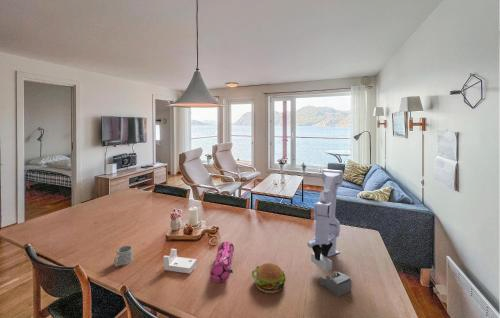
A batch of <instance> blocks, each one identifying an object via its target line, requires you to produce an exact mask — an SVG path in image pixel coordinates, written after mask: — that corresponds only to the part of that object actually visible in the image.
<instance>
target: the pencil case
mask: <svg viewBox="0 0 500 318" xmlns="http://www.w3.org/2000/svg"><path fill="white" fill-rule="evenodd" d="M234 250H235V247H234V244H233V243H232V242H231V241H222V242H220V243H219V245H218V247H217V253H216V256H215V261H214V264H213V265H212V267H211V269H210V272H209V275H210V279H211V280H212V281H213V282H215V283H222V282H225V281H227V280H228V279H229V277H230V275H231V274H233V273H234V272H233V269H231V265H232V260H233V255H234Z"/></svg>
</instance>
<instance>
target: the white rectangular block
mask: <svg viewBox="0 0 500 318" xmlns="http://www.w3.org/2000/svg"><path fill="white" fill-rule="evenodd" d="M310 257H311V258H310V259H311V260H310V262H312V264H314V265H316V266H317V267H318V268H319V269H321V270H323V272H325V273H326V272H329V271H332V270H333V260H331V259H330V258H328V256H327V257H325V256H324V255H322V253H321V255H320V260H319V261H318V260H316V259H315V255H314V251H313V252H311V256H310Z"/></svg>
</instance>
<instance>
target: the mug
mask: <svg viewBox="0 0 500 318" xmlns="http://www.w3.org/2000/svg"><path fill="white" fill-rule="evenodd" d="M133 261H134V254H133V247H132V245H124V246H121V247H118V248H117V249H116V256H115V257H114V260H113V263H114V266H115V267H120V266H127V265H129V264H131V263H132V262H133Z"/></svg>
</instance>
